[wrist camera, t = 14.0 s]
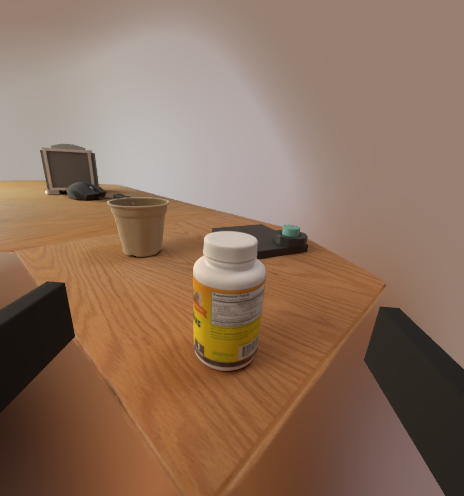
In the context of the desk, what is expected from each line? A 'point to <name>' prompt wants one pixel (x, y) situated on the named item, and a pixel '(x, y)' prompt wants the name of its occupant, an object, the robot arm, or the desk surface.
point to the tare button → (291, 231)
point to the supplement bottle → (228, 300)
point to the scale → (271, 240)
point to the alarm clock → (68, 167)
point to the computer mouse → (88, 192)
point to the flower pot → (140, 224)
